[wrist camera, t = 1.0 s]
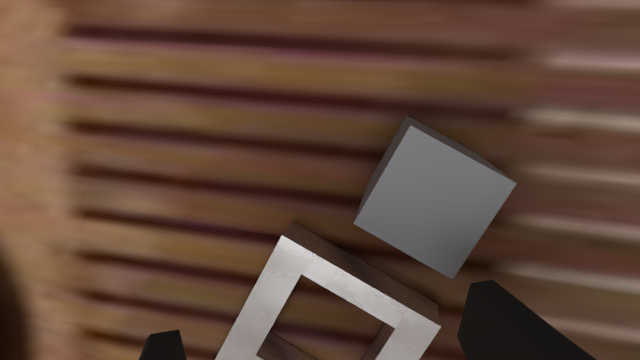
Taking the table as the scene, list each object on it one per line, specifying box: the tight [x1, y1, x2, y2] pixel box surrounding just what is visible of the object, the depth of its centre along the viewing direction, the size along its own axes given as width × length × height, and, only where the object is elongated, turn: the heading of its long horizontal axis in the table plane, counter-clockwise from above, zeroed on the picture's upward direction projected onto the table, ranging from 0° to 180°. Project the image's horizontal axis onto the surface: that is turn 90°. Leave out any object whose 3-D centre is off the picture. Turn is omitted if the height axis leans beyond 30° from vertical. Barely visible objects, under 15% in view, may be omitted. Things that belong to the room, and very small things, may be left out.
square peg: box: [353, 115, 517, 280], centre depth 19 cm, size 4×4×8 cm
